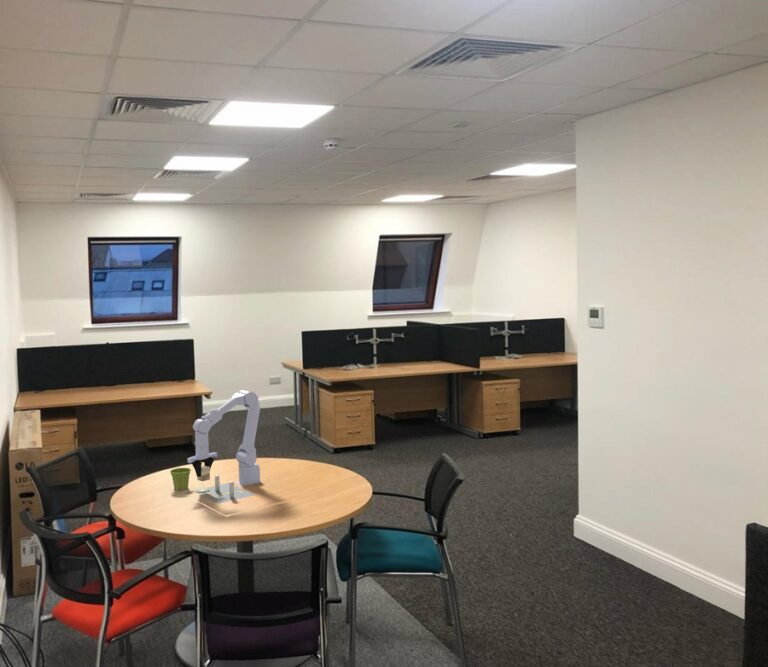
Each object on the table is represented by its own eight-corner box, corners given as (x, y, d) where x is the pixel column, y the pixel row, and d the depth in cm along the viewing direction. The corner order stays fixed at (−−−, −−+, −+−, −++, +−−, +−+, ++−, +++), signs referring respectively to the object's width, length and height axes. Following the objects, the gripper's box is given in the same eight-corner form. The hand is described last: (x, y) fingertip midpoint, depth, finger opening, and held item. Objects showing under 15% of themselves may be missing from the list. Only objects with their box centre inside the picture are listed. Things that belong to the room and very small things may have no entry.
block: (209, 479, 329) (209, 466, 328) (202, 481, 326) (202, 468, 325) (204, 477, 332) (204, 465, 331) (197, 479, 329) (196, 466, 328)
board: (228, 484, 342) (228, 468, 342) (255, 496, 324) (255, 479, 323) (193, 491, 331) (192, 475, 330) (218, 504, 312) (218, 487, 311)
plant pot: (175, 493, 329) (175, 474, 329) (167, 488, 337) (166, 470, 336) (195, 489, 335) (194, 470, 335) (186, 484, 343) (185, 466, 342)
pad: (205, 488, 334) (205, 487, 334) (211, 491, 330) (211, 490, 330) (193, 490, 330) (193, 489, 330) (199, 493, 326) (199, 492, 326)
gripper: (210, 441, 336) (211, 470, 337) (183, 447, 325) (184, 477, 326) (219, 444, 331) (220, 473, 332) (192, 449, 320) (193, 480, 321)
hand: (203, 475), depth 329 cm, fingers closed on block, 4 cm apart
